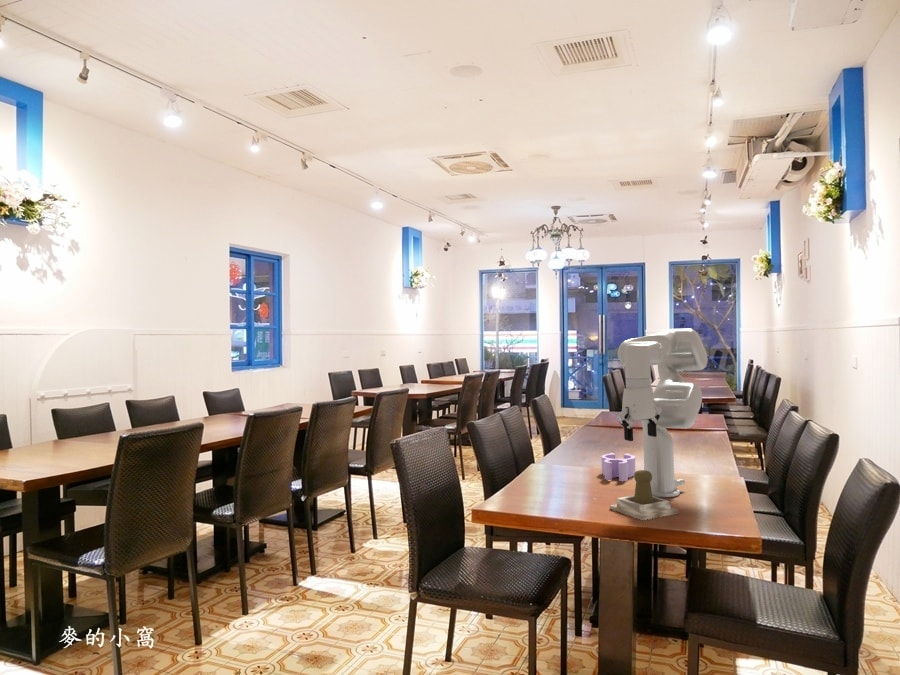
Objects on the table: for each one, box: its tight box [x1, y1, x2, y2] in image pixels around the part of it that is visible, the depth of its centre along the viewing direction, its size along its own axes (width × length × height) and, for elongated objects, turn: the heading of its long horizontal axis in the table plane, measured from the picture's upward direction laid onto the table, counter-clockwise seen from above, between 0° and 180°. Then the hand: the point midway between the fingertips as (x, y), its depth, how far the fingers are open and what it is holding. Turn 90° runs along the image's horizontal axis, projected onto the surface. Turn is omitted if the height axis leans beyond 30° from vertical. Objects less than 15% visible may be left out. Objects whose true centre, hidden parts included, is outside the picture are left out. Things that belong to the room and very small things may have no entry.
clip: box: [600, 452, 636, 482], centre depth 241 cm, size 20×12×7 cm, turn 160°
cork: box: [633, 469, 653, 505], centre depth 192 cm, size 6×6×11 cm
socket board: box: [609, 494, 679, 521], centre depth 192 cm, size 14×14×4 cm
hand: (640, 438), depth 199 cm, fingers open, 9 cm apart
